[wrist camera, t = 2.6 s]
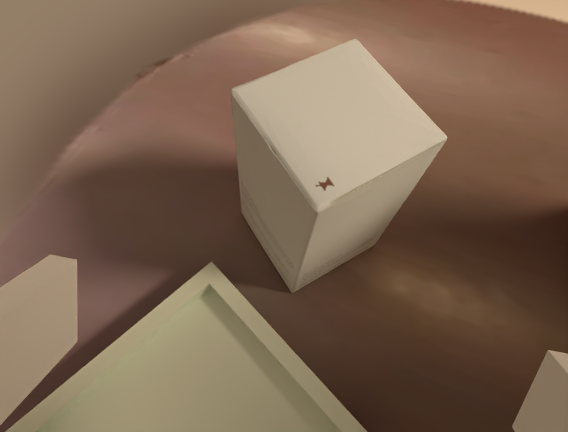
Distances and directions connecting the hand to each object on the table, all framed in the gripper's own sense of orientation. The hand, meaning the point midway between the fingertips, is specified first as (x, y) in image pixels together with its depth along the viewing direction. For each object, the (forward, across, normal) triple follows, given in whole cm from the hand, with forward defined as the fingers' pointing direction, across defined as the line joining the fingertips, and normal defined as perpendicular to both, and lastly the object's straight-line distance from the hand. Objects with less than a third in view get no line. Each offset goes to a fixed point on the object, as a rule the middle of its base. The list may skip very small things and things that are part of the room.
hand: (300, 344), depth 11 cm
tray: (+8, -4, -13) cm, 16 cm away
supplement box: (+18, 0, -3) cm, 18 cm away
